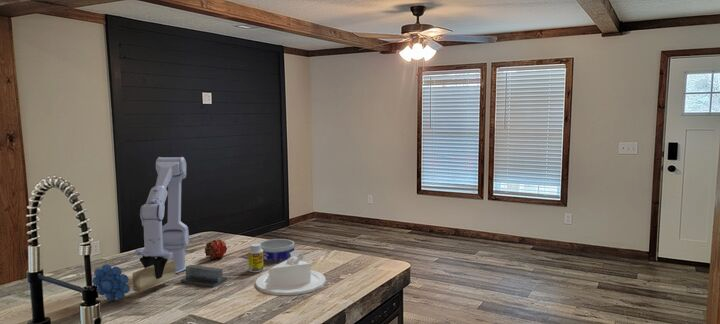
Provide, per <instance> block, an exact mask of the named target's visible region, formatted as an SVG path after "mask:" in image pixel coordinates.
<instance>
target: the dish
mask: <svg viewBox="0 0 720 324" xmlns="http://www.w3.org/2000/svg"><path fill="white" fill-rule="evenodd" d="M290 255H291V257H290V258H289V259H287V260H286V261H281V262H279V263H278V264H275V265H273V266H272V267H270V268H269V269H268V272H267V273H264V274H261V275H260V276H259V277H258V278H257V279H256V281H255V287H256V288H257V290H259V291H260V292H262V293H265V294H269V295H276V296H298V295H305V294H308V293H309V294H310V293H311V292H312V293H313V292H315V291H317V290H320V289H322V288H323V287H324V286H325V285H326V276H325V275H324V274H323V273H321V272H318V271H316V270H311V263H310V262H307V261H305V260H303V259H304V257H305V253H302V252H301V251H300V250H298V249H296V250H295V249H294V251H292V252H290ZM324 284H325V285H324Z"/></svg>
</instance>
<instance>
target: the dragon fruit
mask: <svg viewBox="0 0 720 324" xmlns="http://www.w3.org/2000/svg"><path fill="white" fill-rule="evenodd" d="M205 246H206V247H205V248H204V254H205V256H206V257H209V258H210V259H212V260H216V259H217V258H219V259H223V258H224V255H225V254H226V252H227V250H228V248H227V243H226V241H223V240H221V239H220V238H218V239H214V240H212V241H209V242H207V243H206V244H205Z"/></svg>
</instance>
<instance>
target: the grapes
mask: <svg viewBox="0 0 720 324" xmlns="http://www.w3.org/2000/svg"><path fill="white" fill-rule="evenodd" d="M93 274H94V276H95V277H93V278H92V280H91V283H92V284H93V286H95V285H96V286H95V287H97V288H98V293H97V294H98V295H99V296H105V299H106V300H108V301H110V302H112V301H114V300H115V299H117V300H119V301H121V300H123V299H124V298H125V297H126V295H125V294H127V293H129V292H130V289H131V288H130V286H129V284H128V282H129V276H128V275H126V274H123V273H122V269H121V268H120V267H118V266H113V267H112V266H111V265H110V264H103V265H102V267H99V268H95V270H94V271H93Z"/></svg>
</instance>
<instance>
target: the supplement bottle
mask: <svg viewBox="0 0 720 324" xmlns="http://www.w3.org/2000/svg"><path fill="white" fill-rule="evenodd" d="M263 270H264V261H263V249H261V244H259V243H252V244H250V248H249V249H248V271H249V272H250V273H260V272H262V271H263Z"/></svg>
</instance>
